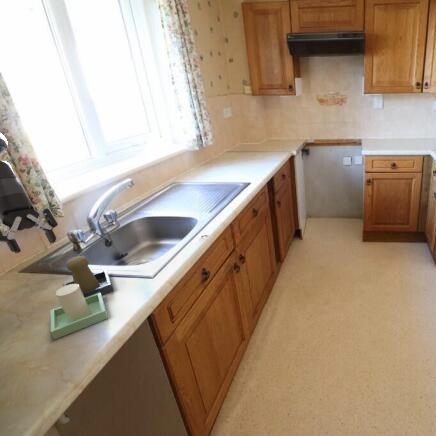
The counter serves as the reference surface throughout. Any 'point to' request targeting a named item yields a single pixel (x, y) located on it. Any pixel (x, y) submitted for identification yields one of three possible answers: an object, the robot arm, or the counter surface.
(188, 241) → the counter surface
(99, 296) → the light tray
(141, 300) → the counter surface
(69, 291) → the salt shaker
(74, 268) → the cork
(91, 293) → the dark tray
